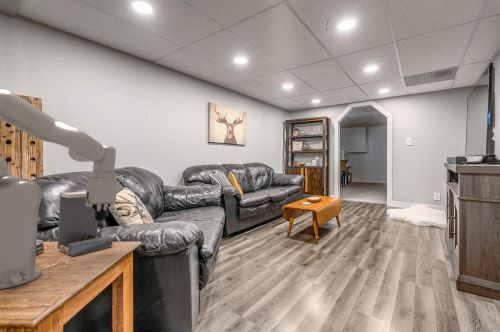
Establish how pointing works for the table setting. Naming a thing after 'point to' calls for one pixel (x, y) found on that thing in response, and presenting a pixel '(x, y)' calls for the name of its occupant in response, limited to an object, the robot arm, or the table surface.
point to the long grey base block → (87, 246)
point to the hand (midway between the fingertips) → (99, 220)
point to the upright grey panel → (75, 218)
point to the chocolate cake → (85, 237)
